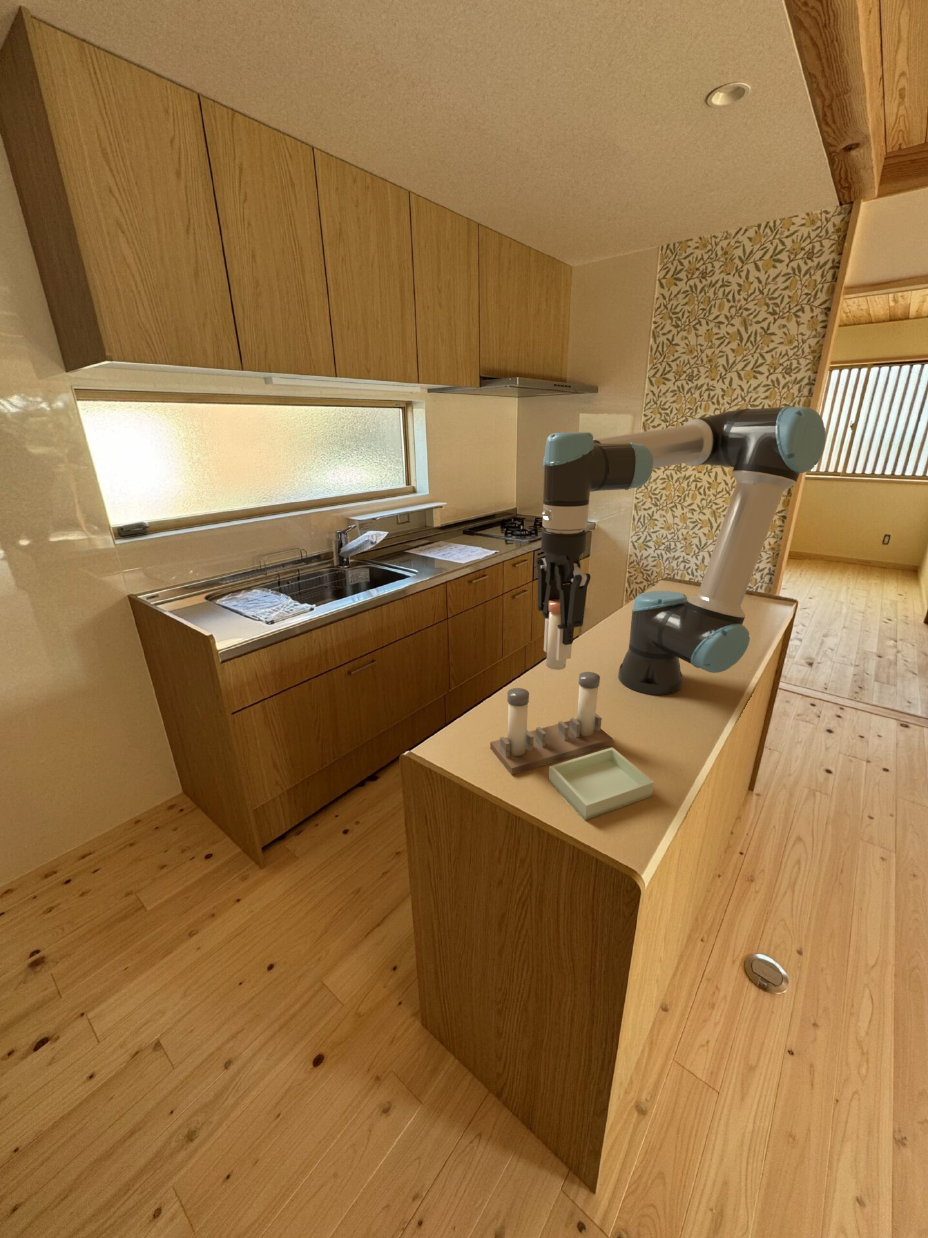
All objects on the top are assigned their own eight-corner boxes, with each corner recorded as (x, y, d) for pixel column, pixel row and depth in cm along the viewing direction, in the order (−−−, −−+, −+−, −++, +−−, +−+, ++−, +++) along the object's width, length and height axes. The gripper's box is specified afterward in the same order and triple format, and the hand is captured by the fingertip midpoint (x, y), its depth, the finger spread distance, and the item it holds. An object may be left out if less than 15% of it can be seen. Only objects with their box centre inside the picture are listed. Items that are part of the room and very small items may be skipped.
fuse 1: (520, 742, 99) (522, 686, 95) (530, 753, 96) (533, 695, 91) (502, 747, 98) (503, 690, 93) (512, 758, 94) (513, 700, 90)
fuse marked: (558, 659, 96) (563, 597, 92) (571, 667, 93) (575, 603, 88) (541, 663, 95) (544, 600, 90) (552, 671, 91) (556, 607, 87)
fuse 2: (587, 723, 105) (591, 670, 100) (598, 733, 102) (604, 678, 97) (571, 728, 104) (575, 674, 99) (582, 738, 100) (587, 682, 96)
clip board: (585, 722, 108) (586, 704, 107) (612, 744, 100) (614, 725, 99) (490, 748, 100) (490, 729, 98) (511, 775, 92) (512, 754, 90)
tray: (610, 760, 96) (612, 747, 95) (652, 796, 86) (654, 782, 85) (548, 780, 91) (549, 766, 90) (585, 820, 81) (586, 805, 80)
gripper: (520, 523, 90) (517, 641, 99) (574, 540, 76) (565, 677, 84) (555, 519, 93) (550, 635, 101) (613, 535, 79) (601, 668, 87)
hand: (557, 654), depth 93 cm, fingers closed on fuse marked, 3 cm apart
